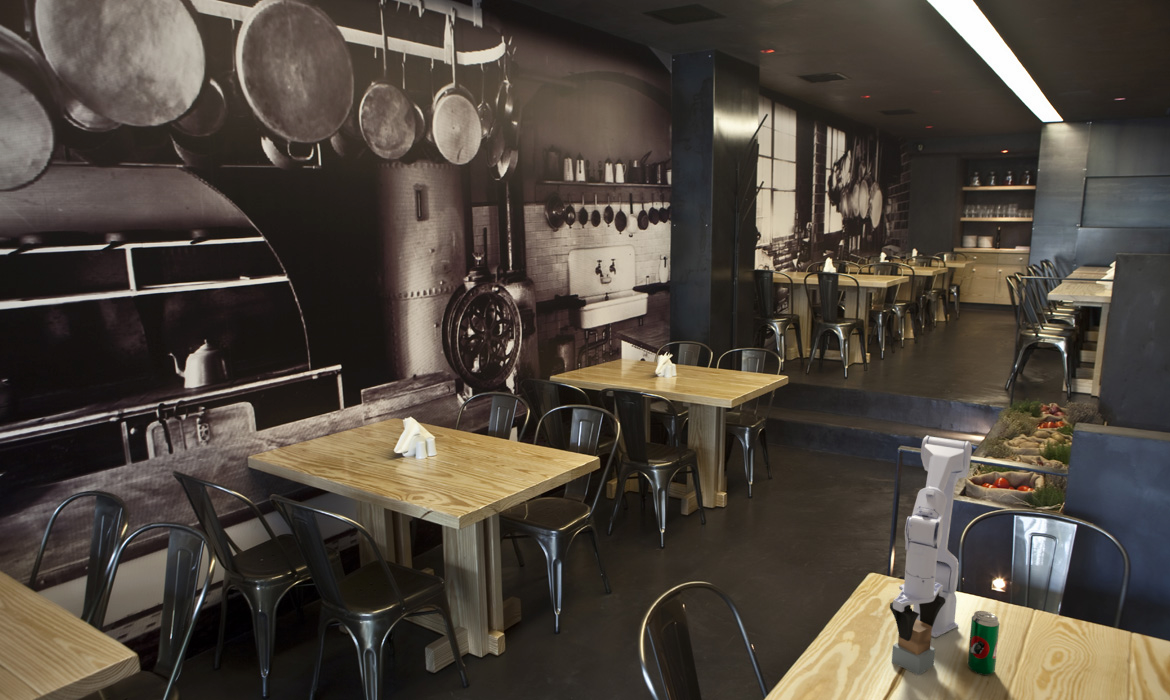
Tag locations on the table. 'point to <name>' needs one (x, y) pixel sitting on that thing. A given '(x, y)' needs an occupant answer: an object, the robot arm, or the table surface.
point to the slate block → (913, 659)
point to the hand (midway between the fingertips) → (915, 633)
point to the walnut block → (918, 638)
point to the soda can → (983, 642)
